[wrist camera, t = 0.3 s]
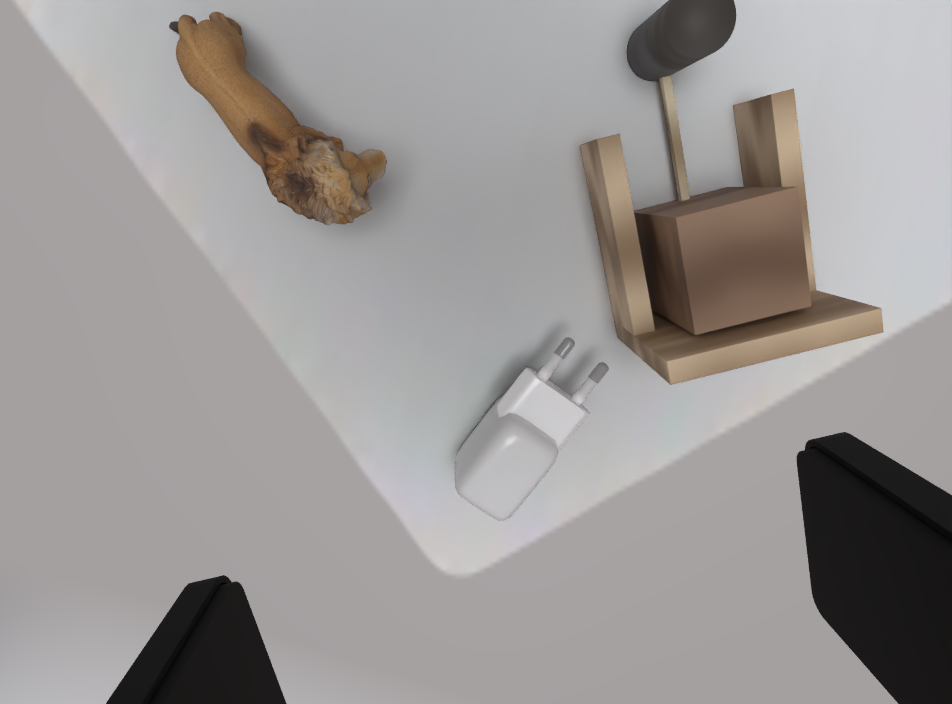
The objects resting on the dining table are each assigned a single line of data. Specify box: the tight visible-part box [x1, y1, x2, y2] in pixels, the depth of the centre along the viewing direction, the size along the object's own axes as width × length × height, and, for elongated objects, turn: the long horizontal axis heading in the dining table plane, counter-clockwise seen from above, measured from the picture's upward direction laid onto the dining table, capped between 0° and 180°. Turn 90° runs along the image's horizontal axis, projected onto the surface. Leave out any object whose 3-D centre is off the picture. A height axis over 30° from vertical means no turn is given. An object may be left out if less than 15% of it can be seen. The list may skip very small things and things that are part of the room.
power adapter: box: [455, 338, 609, 521], centre depth 38 cm, size 11×5×6 cm, turn 144°
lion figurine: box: [169, 12, 387, 225], centre depth 32 cm, size 15×5×9 cm, turn 49°
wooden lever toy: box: [627, 0, 812, 335], centre depth 34 cm, size 16×6×8 cm, turn 14°
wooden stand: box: [580, 89, 883, 385], centre depth 34 cm, size 12×10×10 cm
